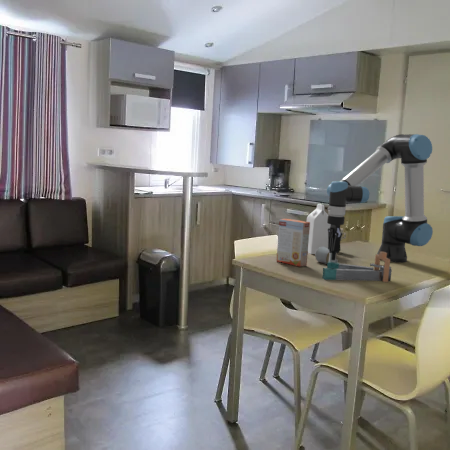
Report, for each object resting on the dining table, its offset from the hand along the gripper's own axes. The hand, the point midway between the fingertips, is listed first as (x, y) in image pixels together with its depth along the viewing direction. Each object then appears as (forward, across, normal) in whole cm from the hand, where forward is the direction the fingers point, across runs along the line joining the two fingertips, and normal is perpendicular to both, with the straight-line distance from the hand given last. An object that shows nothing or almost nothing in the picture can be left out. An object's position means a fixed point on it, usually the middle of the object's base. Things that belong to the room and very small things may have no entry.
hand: (331, 266), depth 238 cm
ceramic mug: (+2, -15, +3) cm, 15 cm away
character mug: (+2, -44, +17) cm, 47 cm away
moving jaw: (+2, +11, +8) cm, 14 cm away
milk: (+2, -41, +6) cm, 42 cm away
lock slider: (+2, +15, +17) cm, 23 cm away
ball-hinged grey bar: (+2, +17, +6) cm, 18 cm away
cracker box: (+2, -11, -16) cm, 20 cm away
